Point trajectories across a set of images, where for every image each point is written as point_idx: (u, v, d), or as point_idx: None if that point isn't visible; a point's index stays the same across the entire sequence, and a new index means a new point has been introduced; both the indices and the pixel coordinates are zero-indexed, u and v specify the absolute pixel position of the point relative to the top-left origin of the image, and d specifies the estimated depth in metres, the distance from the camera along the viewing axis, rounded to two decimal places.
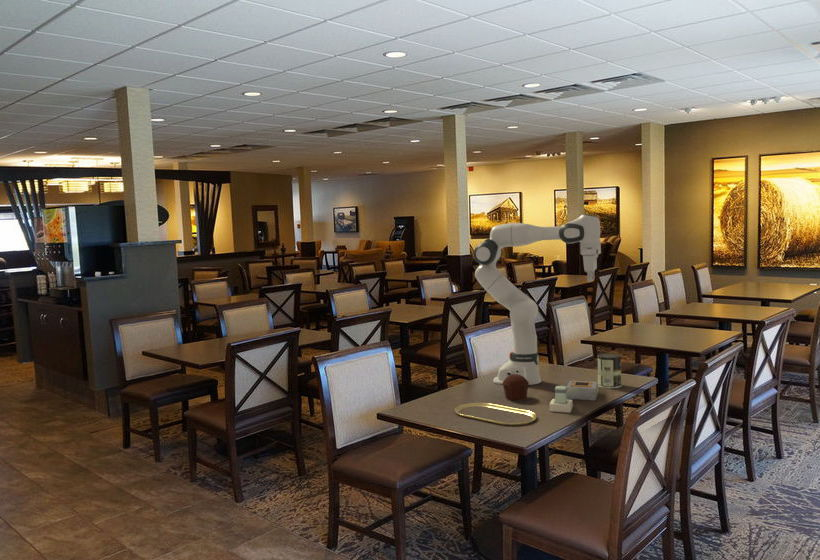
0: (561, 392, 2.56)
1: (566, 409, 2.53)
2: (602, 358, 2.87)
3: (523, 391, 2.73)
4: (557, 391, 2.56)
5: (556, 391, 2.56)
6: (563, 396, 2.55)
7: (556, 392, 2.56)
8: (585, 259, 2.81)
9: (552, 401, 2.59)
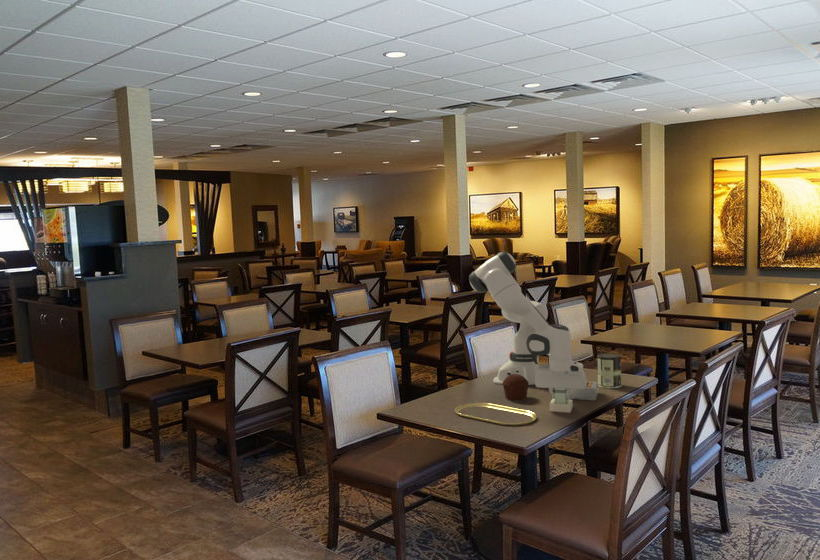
0: (561, 392, 2.56)
1: (566, 409, 2.53)
2: (602, 358, 2.87)
3: (523, 391, 2.74)
4: (557, 391, 2.56)
5: (556, 391, 2.56)
6: (563, 396, 2.55)
7: (556, 392, 2.56)
8: (584, 375, 2.52)
9: (552, 401, 2.59)
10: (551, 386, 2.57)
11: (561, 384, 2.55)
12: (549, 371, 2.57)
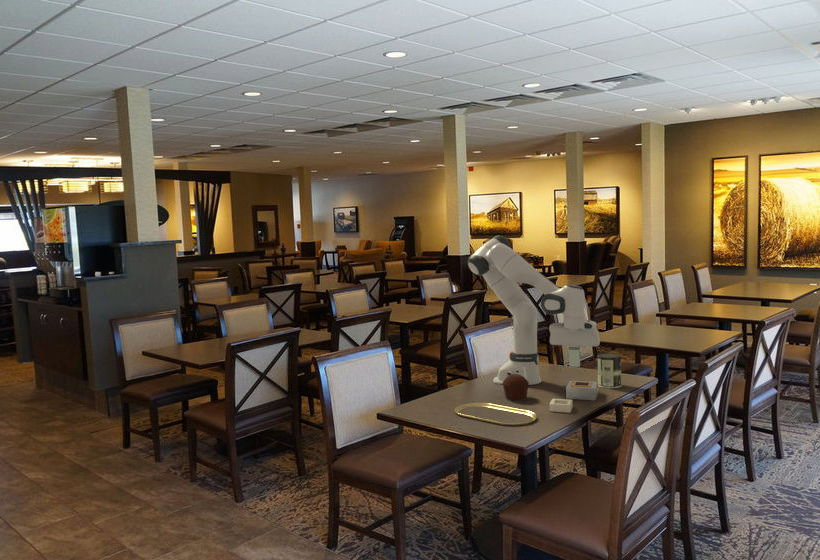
0: (575, 349, 2.67)
1: (566, 409, 2.53)
2: (602, 358, 2.87)
3: (523, 391, 2.73)
4: (571, 348, 2.67)
5: (570, 348, 2.67)
6: (577, 353, 2.66)
7: (570, 349, 2.67)
8: (597, 333, 2.63)
9: (552, 401, 2.59)
10: (565, 343, 2.68)
11: (575, 342, 2.66)
12: (563, 329, 2.68)
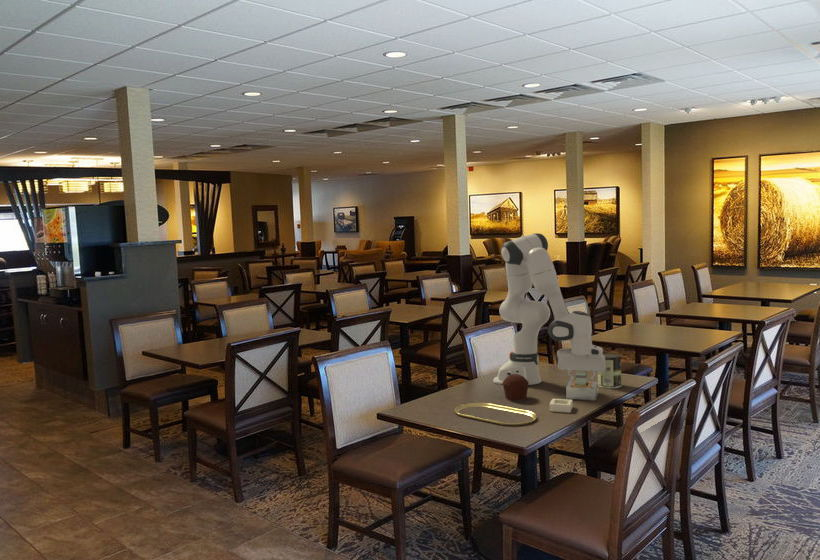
0: (582, 377, 2.74)
1: (566, 409, 2.53)
2: None
3: (523, 391, 2.74)
4: (578, 376, 2.75)
5: (577, 376, 2.75)
6: (583, 381, 2.74)
7: (577, 377, 2.75)
8: (604, 358, 2.71)
9: (552, 401, 2.59)
10: (573, 369, 2.75)
11: (582, 367, 2.74)
12: (571, 354, 2.75)
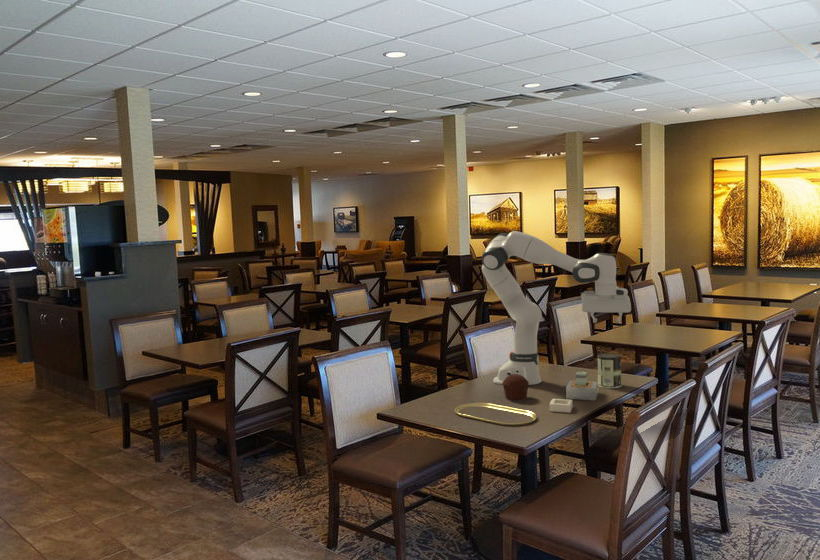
0: (582, 377, 2.74)
1: (566, 409, 2.53)
2: (602, 358, 2.87)
3: (523, 391, 2.74)
4: (578, 376, 2.75)
5: (577, 376, 2.75)
6: (583, 381, 2.74)
7: (577, 377, 2.75)
8: (629, 299, 2.71)
9: (552, 401, 2.59)
10: (597, 310, 2.75)
11: (607, 308, 2.74)
12: (595, 296, 2.75)
